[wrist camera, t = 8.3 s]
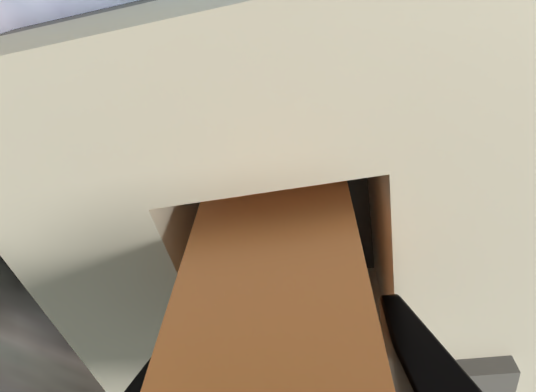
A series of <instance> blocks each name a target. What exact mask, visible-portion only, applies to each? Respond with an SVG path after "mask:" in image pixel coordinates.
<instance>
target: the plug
mask: <svg viewBox="0 0 536 392" xmlns="http://www.w3.org/2000/svg"><path fill="white" fill-rule="evenodd" d="M140 392H395V388H394V383H393V379H392V374H391V370H390V366H389V361H388V357H387V353H386V348H385V344H384V340H383V335H382V331H381V326H380V322H379V318H378V313H377V309H376V305H375V300H374V296H373V292H372V287H371V283H370V279H369V274H368V270H367V265H366V261H365V257H364V252H363V248H362V244H361V239H360V235H359V231H358V226H357V222H356V218H355V213H354V209H353V204H352V200H351V196H350V191H349V187H348V183H347V181H341V182H334V183H327V184H320V185H314V186H307V187H300V188H293V189H286V190H279V191H273V192H266V193H259V194H252V195H245V196H239V197H232V198H225V199H218V200H211V201H204V202H200V204H199V207H198V211H197V214H196V217H195V220H194V223H193V226H192V230H191V233H190V236H189V239H188V242H187V245H186V249H185V252H184V255H183V258H182V261H181V264H180V267H179V271H178V274H177V277H176V280H175V283H174V286H173V290H172V293H171V296H170V299H169V302H168V305H167V309H166V312H165V315H164V318H163V321H162V324H161V328H160V331H159V334H158V337H157V340H156V343H155V347H154V350H153V353H152V356H151V359H150V362H149V365H148V369H147V372H146V375H145V378H144V381H143V384H142V388H141V391H140Z"/></svg>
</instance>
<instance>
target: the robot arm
mask: <svg viewBox="0 0 536 392" xmlns="http://www.w3.org/2000/svg"><path fill="white" fill-rule="evenodd" d="M379 306H380V319H381V327H382V332H383V337H384V343H385V348H386V353H387V357H388V361H389V366H390V370H391V374H392V379H393V383H394V388H395V392H483V391H482V390H481V389H480V388H479V387H478V386H477V384H476V383H475V382H474V381H473V380H472V379H471V377H470V376H469V375H468V374H467V373H466V372H465V371H464V369H463V368H462V367H461V366H460V365H459V364H458V362H457V361H456V360H455V359H454V358H453V357H452V355H451V354H450V353H449V352H448V351H447V350H446V349H445V347H444V346H443V345H442V344H441V343H440V342H439V340H438V339H437V338H436V337H435V336H434V335H433V333H432V332H431V331H430V330H429V329H428V328H427V327H426V325H425V324H424V323H423V322H422V321H421V320H420V318H419V317H418V316H417V315H416V314H415V313H414V311H413V310H412V309H411V308H410V307H409V306H408V305H407V303H406V302H405V301H404V300H403V299H402V298H401V297H400V296H399V295H398V294H389V295H382V296H380V297H379ZM150 359H151V357H150ZM150 359H149V360H148V361H147V363H146V364H145V365H144V366H143V368H142V369H141V370H140V372H139V373H138V374H137V375H136V377H135V378H134V379H133V381H132V382H131V383H130V384H129V386H128V387H127V388H126V390H125V391H124V392H140V391H141V388H142V384H143V381H144V378H145V375H146V372H147V369H148V365H149V362H150Z"/></svg>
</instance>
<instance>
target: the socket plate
mask: <svg viewBox="0 0 536 392" xmlns="http://www.w3.org/2000/svg"><path fill="white" fill-rule="evenodd" d="M341 181H347V183H348V187H349V191H350V196H351V200H352V204H353V209H354V213H355V218H356V222H357V226H358V231H359V235H360V239H361V244H362V248H363V252H364V257H365V261H366V265H367V270H368V274H369V279H370V283H371V287H372V292H373V296H374V300H375V305H376V309H377V313H378V318H379V322H380V326H381V319H380V306H379V297H380V296H382V295H389V294H398V295H399V296H400V297H401V298H402V299H403V300H404V301H405V302H406V303H407V305H408V306H409V307H410V308H411V309H412V310H413V311H414V313H415V314H416V315H417V316H418V317H419V318H420V320H421V321H422V322H423V323H424V324H425V325H426V327H427V328H428V329H429V330H430V331H431V332H432V333H433V335H434V336H435V337H436V338H437V339H438V340H439V342H440V343H441V344H442V345H443V346H444V347H445V349H446V350H447V351H448V352H449V353H450V354H451V355H452V357H453V358H454V359H455V360H456V361H457V362H458V364H459V365H460V366H461V367H462V368H463V369H464V371H465V372H466V373H467V374H468V375H469V376H470V377H471V379H472V380H473V381H474V382H475V383H476V384H477V386H478V387H479V388H480V389H481V390H482V391H483V392H536V0H139V1H135V2H131V3H126V4H122V5H118V6H113V7H109V8H105V9H100V10H96V11H92V12H87V13H83V14H79V15H74V16H70V17H66V18H61V19H57V20H53V21H48V22H44V23H40V24H35V25H31V26H27V27H22V28H18V29H14V30H10V31H8V32H5V33H3V34H0V256H1V257H2V258H3V260H4V261H5V262H6V264H7V265H8V266H9V267H10V269H11V270H12V271H13V273H14V274H15V275H16V276H17V278H18V279H19V280H20V282H21V283H22V284H23V285H24V287H25V288H26V289H27V291H28V292H29V293H30V295H31V296H32V297H33V298H34V300H35V301H36V302H37V304H38V305H39V306H40V307H41V309H42V310H43V311H44V313H45V314H46V315H47V316H48V318H49V319H50V320H51V322H52V323H53V324H54V325H55V327H56V328H57V329H58V331H59V332H60V333H61V335H62V336H63V337H64V338H65V340H66V341H67V342H68V344H69V345H70V346H71V347H72V349H73V350H74V351H75V353H76V354H77V355H78V356H79V358H80V359H81V360H82V362H83V363H84V364H85V366H86V367H87V368H88V369H89V371H90V372H91V373H92V375H93V376H94V377H95V378H96V380H97V381H98V382H99V384H100V385H101V386H102V387H103V389H104V390H105V391H106V392H124V391H125V390H126V388H127V387H128V386H129V384H130V383H131V382H132V381H133V379H134V378H135V377H136V375H137V374H138V373H139V372H140V370H141V369H142V368H143V366H144V365H145V364H146V363H147V361H148V360H149V359H150V357H151V356H152V353H153V350H154V347H155V343H156V340H157V337H158V334H159V331H160V328H161V324H162V321H163V318H164V315H165V312H166V309H167V305H168V302H169V299H170V296H171V293H172V290H173V286H174V283H175V280H176V277H177V274H178V271H179V267H180V264H181V261H182V258H183V255H184V252H185V249H186V245H187V242H188V239H189V236H190V233H191V230H192V226H193V223H194V220H195V217H196V214H197V211H198V207H199V204H200V202H204V201H211V200H218V199H225V198H232V197H239V196H245V195H252V194H259V193H266V192H273V191H279V190H286V189H293V188H300V187H307V186H314V185H320V184H327V183H334V182H341ZM381 331H382V327H381ZM382 335H383V332H382ZM383 340H384V337H383ZM384 344H385V343H384Z"/></svg>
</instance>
